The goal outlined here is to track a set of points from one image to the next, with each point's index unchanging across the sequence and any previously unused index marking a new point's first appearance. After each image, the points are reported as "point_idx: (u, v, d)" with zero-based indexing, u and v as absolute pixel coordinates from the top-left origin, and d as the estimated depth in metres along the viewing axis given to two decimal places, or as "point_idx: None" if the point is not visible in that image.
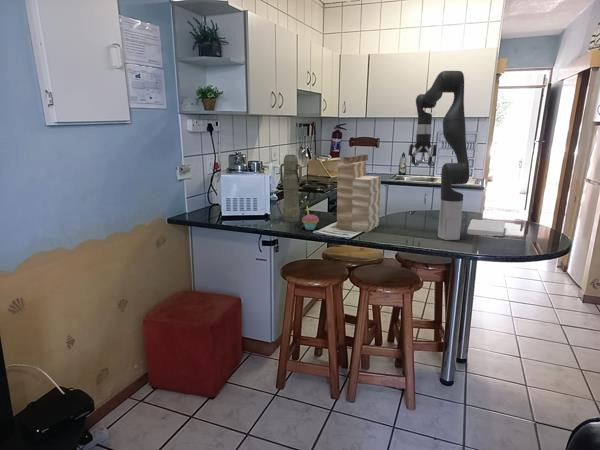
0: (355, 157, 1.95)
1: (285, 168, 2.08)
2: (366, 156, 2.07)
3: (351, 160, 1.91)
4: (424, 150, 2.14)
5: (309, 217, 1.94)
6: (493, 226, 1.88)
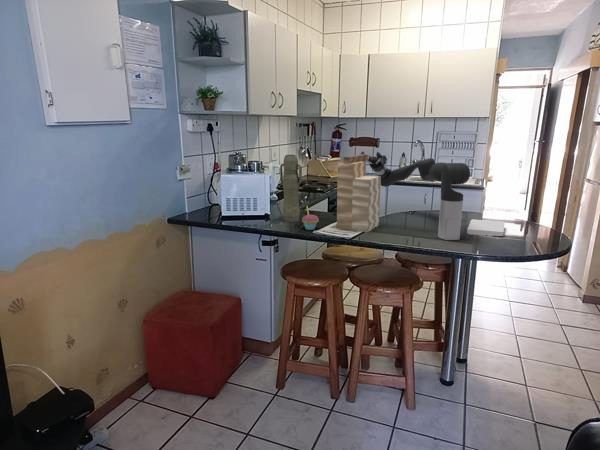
0: (355, 157, 1.95)
1: (285, 168, 2.08)
2: (366, 156, 2.07)
3: (351, 160, 1.91)
4: None
5: (309, 217, 1.94)
6: (493, 226, 1.88)
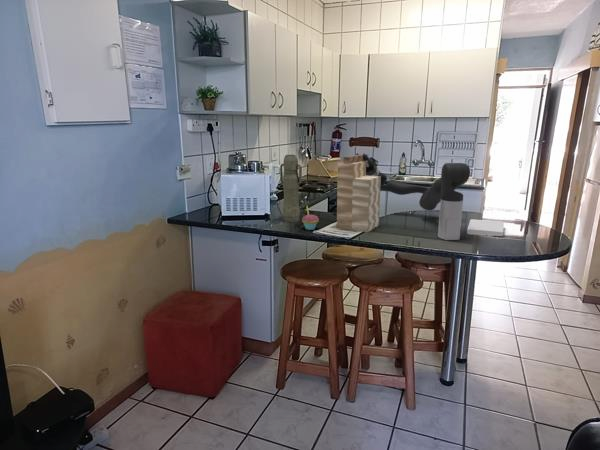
0: (355, 157, 1.95)
1: (285, 168, 2.08)
2: None
3: (351, 160, 1.91)
4: None
5: (309, 217, 1.94)
6: (492, 226, 1.88)
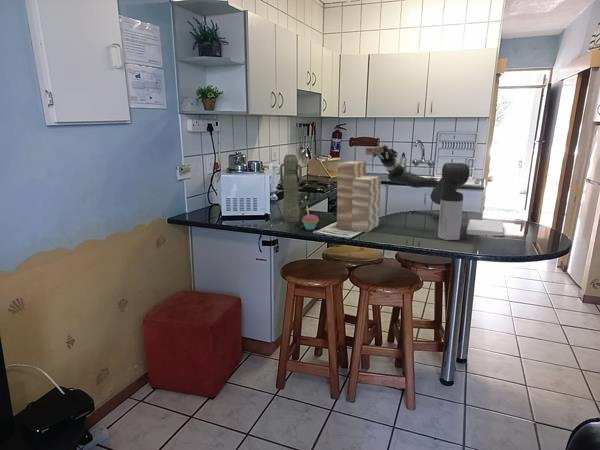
0: (377, 148, 1.98)
1: (285, 168, 2.08)
2: None
3: (373, 151, 1.95)
4: None
5: (309, 217, 1.94)
6: (492, 226, 1.89)
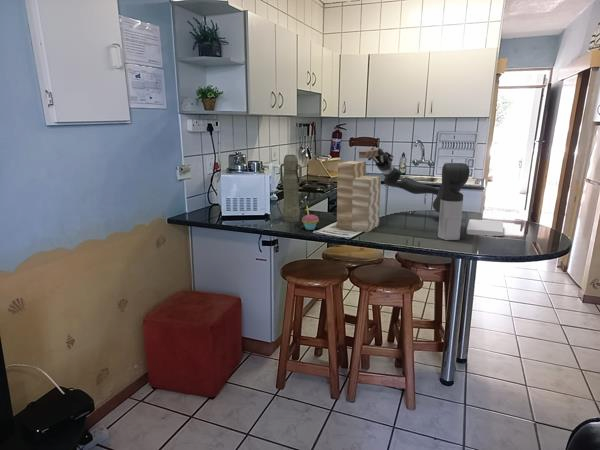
0: (371, 152, 1.90)
1: (285, 168, 2.08)
2: None
3: (367, 155, 1.86)
4: None
5: (309, 217, 1.94)
6: (492, 226, 1.89)
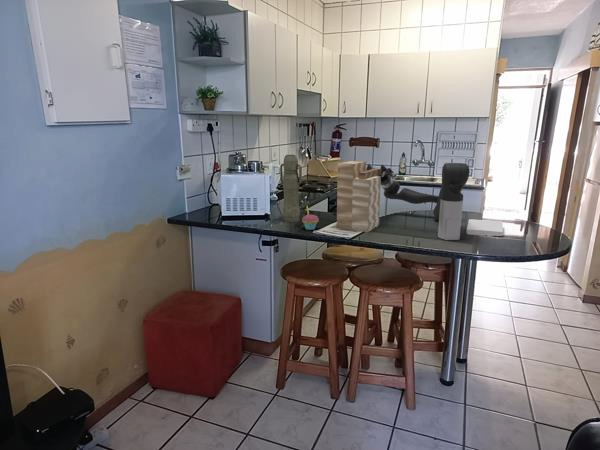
0: (370, 172, 1.92)
1: (285, 168, 2.08)
2: (380, 170, 2.04)
3: (367, 175, 1.89)
4: None
5: (309, 217, 1.94)
6: (491, 226, 1.89)
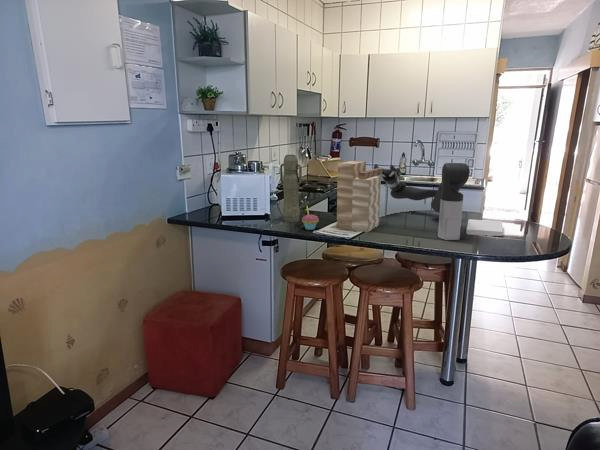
0: (370, 172, 1.92)
1: (285, 168, 2.08)
2: (380, 170, 2.04)
3: (367, 175, 1.89)
4: None
5: (309, 217, 1.94)
6: (491, 226, 1.89)
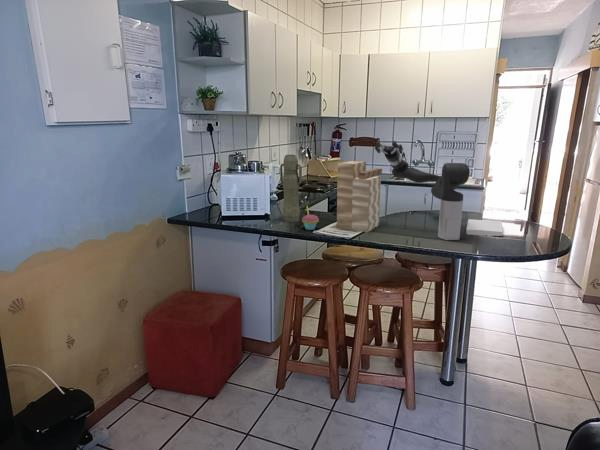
0: (370, 172, 1.92)
1: (285, 168, 2.08)
2: (380, 170, 2.04)
3: (367, 175, 1.89)
4: None
5: (309, 217, 1.94)
6: (491, 226, 1.89)
